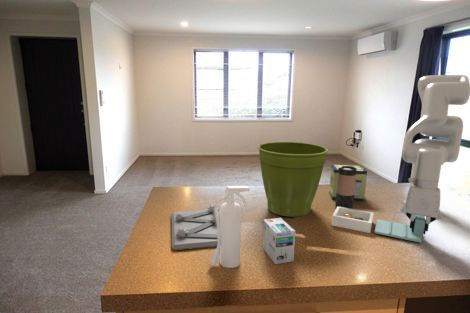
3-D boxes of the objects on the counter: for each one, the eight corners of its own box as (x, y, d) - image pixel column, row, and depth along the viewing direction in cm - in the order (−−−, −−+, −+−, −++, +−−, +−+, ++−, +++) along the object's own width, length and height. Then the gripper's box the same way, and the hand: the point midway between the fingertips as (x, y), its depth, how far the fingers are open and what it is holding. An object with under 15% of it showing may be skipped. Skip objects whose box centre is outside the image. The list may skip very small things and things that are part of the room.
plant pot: (294, 230, 118) (299, 158, 112) (242, 207, 140) (243, 146, 134) (336, 211, 137) (341, 148, 131) (284, 193, 159) (287, 139, 153)
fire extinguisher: (204, 260, 97) (207, 185, 91) (240, 254, 102) (244, 182, 96) (211, 272, 91) (214, 192, 85) (248, 265, 96) (253, 189, 90)
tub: (336, 217, 131) (337, 206, 130) (372, 224, 124) (373, 212, 123) (331, 227, 121) (332, 215, 120) (369, 235, 115) (371, 223, 114)
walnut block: (353, 224, 122) (354, 217, 121) (362, 225, 121) (362, 218, 120) (355, 227, 119) (355, 220, 118) (363, 228, 118) (364, 221, 118)
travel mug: (354, 215, 133) (358, 170, 129) (335, 213, 134) (339, 169, 130) (351, 208, 140) (355, 166, 136) (333, 207, 142) (337, 165, 137)
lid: (376, 220, 124) (378, 205, 122) (421, 229, 116) (424, 212, 115) (374, 233, 113) (376, 215, 112) (423, 243, 106) (426, 224, 105)
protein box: (328, 192, 162) (330, 164, 158) (359, 194, 159) (362, 165, 156) (331, 199, 151) (334, 169, 148) (364, 201, 149) (368, 170, 146)
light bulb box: (294, 261, 97) (296, 230, 95) (274, 265, 95) (276, 233, 93) (280, 245, 107) (281, 216, 105) (262, 248, 105) (263, 218, 103)
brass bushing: (344, 219, 127) (345, 212, 126) (352, 220, 125) (352, 213, 125) (343, 221, 124) (343, 214, 123) (351, 223, 123) (351, 216, 122)
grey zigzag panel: (171, 216, 131) (170, 201, 129) (221, 213, 135) (221, 197, 134) (172, 253, 102) (171, 233, 101) (235, 246, 107) (235, 228, 105)
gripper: (399, 182, 108) (392, 230, 112) (455, 190, 101) (446, 241, 105) (399, 177, 115) (393, 222, 119) (451, 183, 107) (443, 232, 111)
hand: (418, 231), depth 112 cm, fingers closed on lid, 3 cm apart
